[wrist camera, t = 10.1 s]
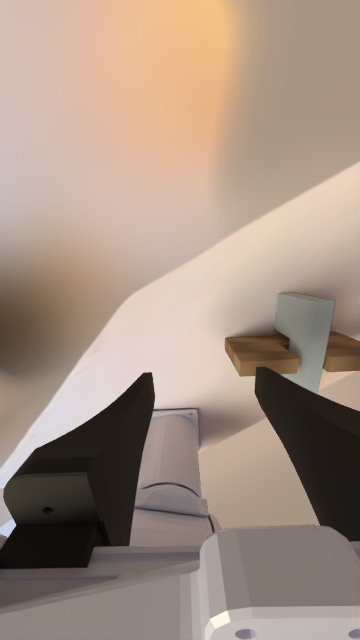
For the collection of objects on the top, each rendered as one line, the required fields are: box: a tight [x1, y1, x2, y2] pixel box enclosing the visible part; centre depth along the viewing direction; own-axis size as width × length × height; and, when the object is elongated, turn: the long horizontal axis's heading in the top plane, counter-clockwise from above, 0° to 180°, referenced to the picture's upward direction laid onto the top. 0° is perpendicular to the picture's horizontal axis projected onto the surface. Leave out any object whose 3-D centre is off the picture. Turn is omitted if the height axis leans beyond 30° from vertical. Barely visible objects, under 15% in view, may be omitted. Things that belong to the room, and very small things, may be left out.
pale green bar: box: [275, 293, 335, 394], centre depth 19 cm, size 2×12×6 cm, turn 4°
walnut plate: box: [225, 332, 360, 376], centre depth 19 cm, size 14×2×6 cm, turn 94°
